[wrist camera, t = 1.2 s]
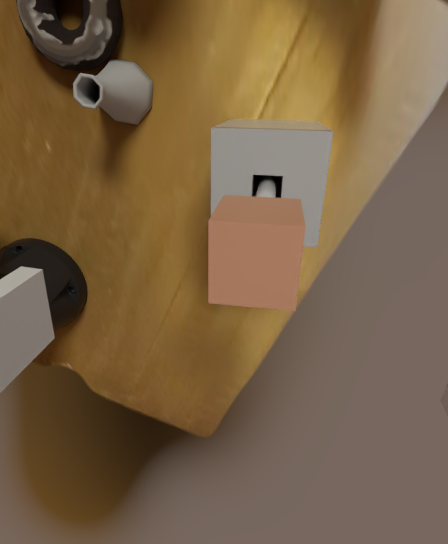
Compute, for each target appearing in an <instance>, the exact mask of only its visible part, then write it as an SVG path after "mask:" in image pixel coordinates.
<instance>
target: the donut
mask: <svg viewBox="0 0 448 544" xmlns="http://www.w3.org/2000/svg"><path fill="white" fill-rule="evenodd" d="M81 1H82V4H83V9H84V16H83V20H82V23H81V24H80V26H79V27H78V28H77V29H75V30H68V29H66V28H64V27H63V26H62V24H61V23H60V21H59V18H58V16H57V2H58V0H16V2H17V7H18V12H19V17H20V20H21V23H22V25H23V27H24V30H25V32H26V34H27V36H28V37H29V39H30V40H31V42H32V43H33V44H34V46H35V47H36V49H37V50H38V51H39V52H40V53H41V54H42V55H43V56H45V57H46V58H47V59H48V60H49V61H51V62H53V63H55V64H57V65H59V66H61V67H63V68H65V69H70V70H76V71H81V70H87V69H92V68H95V67H96V66H98V65H100V64H101V63H103V62H105V61H106V59H107V58H108V57H109V56H110V55H111V53H112V52H113V51H114V49H115V47H116V44H117V42H118V39H119V37H120V31H121V24H122V13H121V3H120V0H81Z"/></svg>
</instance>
